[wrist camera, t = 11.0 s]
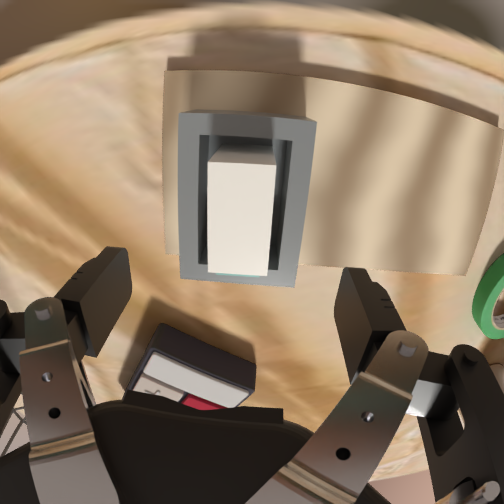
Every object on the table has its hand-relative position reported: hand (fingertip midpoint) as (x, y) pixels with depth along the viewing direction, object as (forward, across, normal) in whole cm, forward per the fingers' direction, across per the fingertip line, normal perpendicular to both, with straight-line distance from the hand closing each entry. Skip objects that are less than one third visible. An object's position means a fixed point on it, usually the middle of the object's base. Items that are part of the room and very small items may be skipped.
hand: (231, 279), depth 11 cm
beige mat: (+13, -7, -1) cm, 15 cm away
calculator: (+14, +6, +23) cm, 28 cm away
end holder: (+12, 0, 0) cm, 12 cm away
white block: (+11, 0, 0) cm, 11 cm away
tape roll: (+14, -30, +8) cm, 34 cm away
